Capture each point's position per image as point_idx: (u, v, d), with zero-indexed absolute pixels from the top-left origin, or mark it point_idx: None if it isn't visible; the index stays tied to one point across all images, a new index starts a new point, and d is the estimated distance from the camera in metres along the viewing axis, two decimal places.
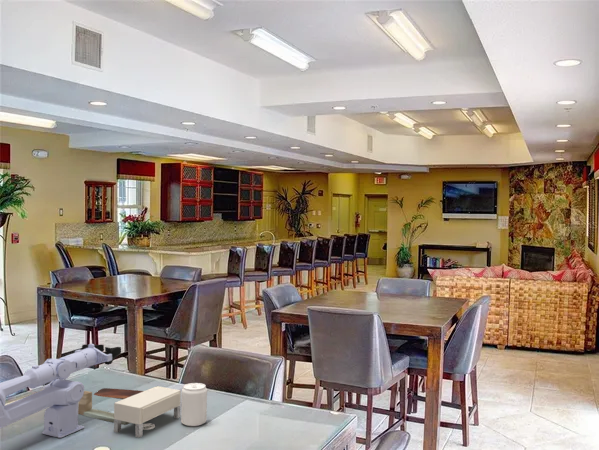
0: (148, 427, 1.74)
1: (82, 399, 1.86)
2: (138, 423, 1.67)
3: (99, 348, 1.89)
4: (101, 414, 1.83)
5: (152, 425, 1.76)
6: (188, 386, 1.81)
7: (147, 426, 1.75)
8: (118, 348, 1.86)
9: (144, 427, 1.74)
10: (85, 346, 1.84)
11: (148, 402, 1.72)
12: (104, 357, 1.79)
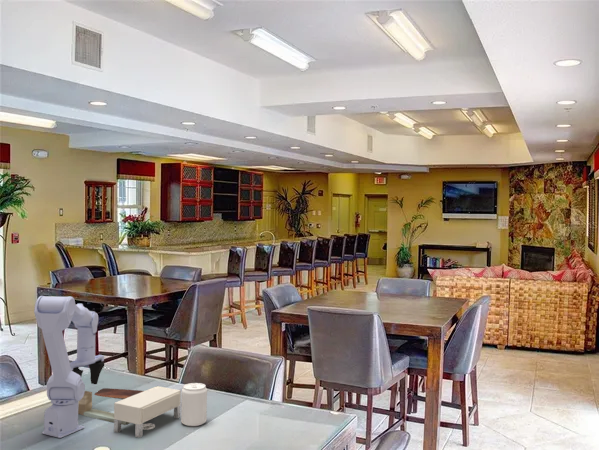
0: (148, 427, 1.74)
1: (82, 399, 1.86)
2: (138, 423, 1.67)
3: None
4: (101, 414, 1.83)
5: (152, 425, 1.76)
6: (188, 386, 1.81)
7: (147, 426, 1.75)
8: None
9: (144, 427, 1.74)
10: None
11: (148, 402, 1.72)
12: None
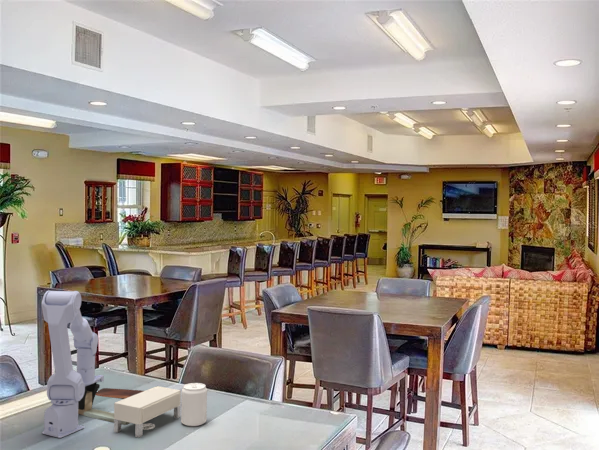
0: (148, 427, 1.74)
1: None
2: (138, 423, 1.67)
3: None
4: (101, 414, 1.83)
5: (152, 425, 1.76)
6: (188, 386, 1.81)
7: (147, 426, 1.75)
8: None
9: (144, 427, 1.74)
10: None
11: (148, 402, 1.72)
12: None
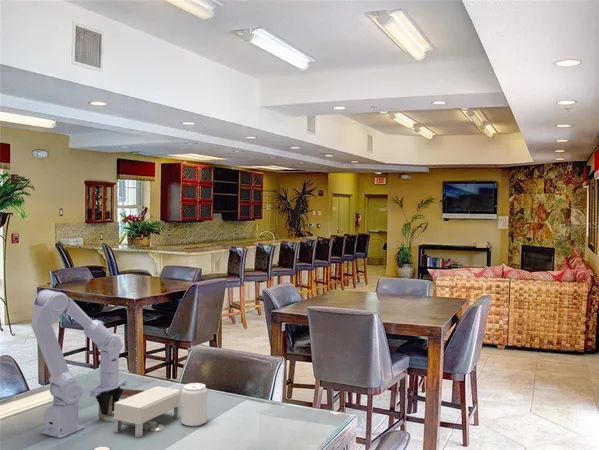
0: (157, 428, 1.73)
1: None
2: (138, 423, 1.67)
3: None
4: None
5: (162, 426, 1.74)
6: (188, 386, 1.81)
7: (157, 427, 1.74)
8: None
9: (154, 428, 1.73)
10: None
11: (148, 402, 1.72)
12: None
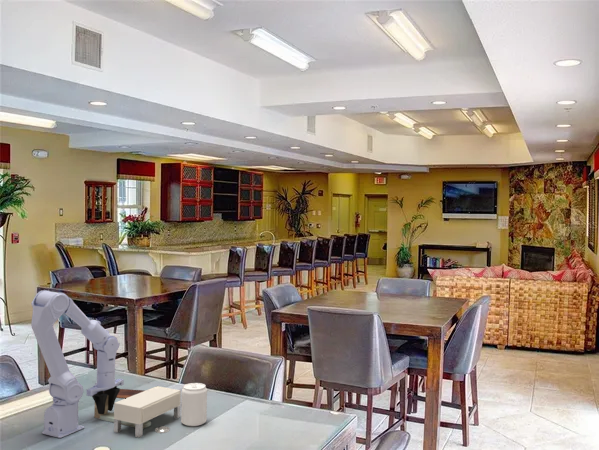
0: (162, 430, 1.72)
1: None
2: (138, 423, 1.67)
3: None
4: None
5: (167, 428, 1.74)
6: (188, 386, 1.81)
7: (162, 429, 1.73)
8: None
9: (158, 430, 1.72)
10: None
11: (148, 402, 1.72)
12: None
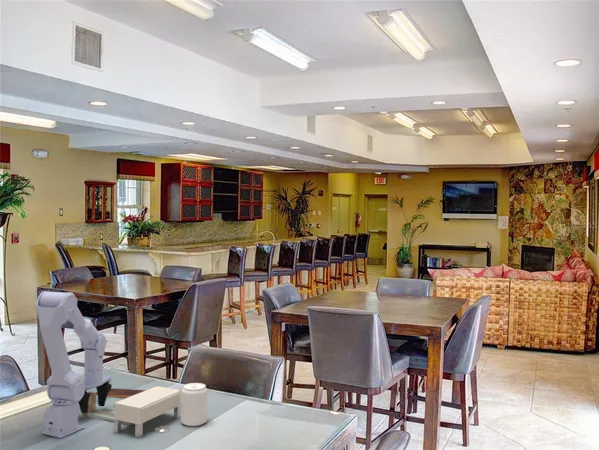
0: (162, 430, 1.72)
1: None
2: (138, 423, 1.67)
3: None
4: (105, 415, 1.82)
5: (167, 428, 1.73)
6: (188, 386, 1.81)
7: (161, 429, 1.73)
8: None
9: (158, 430, 1.72)
10: None
11: (148, 402, 1.72)
12: None
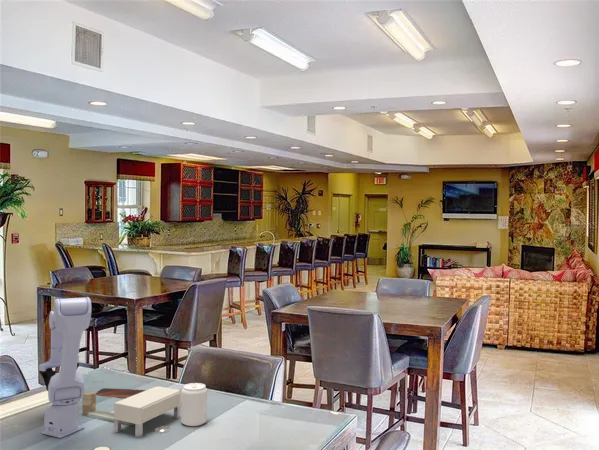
0: (161, 430, 1.72)
1: (86, 399, 1.85)
2: (138, 423, 1.67)
3: None
4: (105, 415, 1.82)
5: (166, 428, 1.73)
6: (188, 386, 1.81)
7: (161, 429, 1.73)
8: None
9: (158, 430, 1.72)
10: None
11: (148, 402, 1.72)
12: None
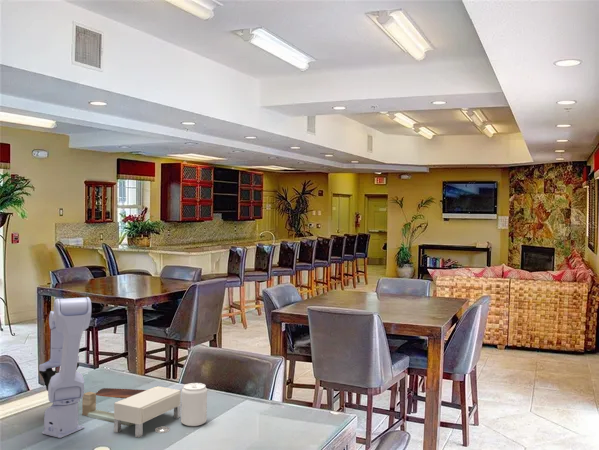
0: (161, 430, 1.72)
1: (86, 399, 1.85)
2: (138, 423, 1.67)
3: None
4: (105, 415, 1.82)
5: (166, 429, 1.73)
6: (188, 386, 1.81)
7: (161, 429, 1.73)
8: None
9: (158, 429, 1.72)
10: None
11: (148, 402, 1.72)
12: None
